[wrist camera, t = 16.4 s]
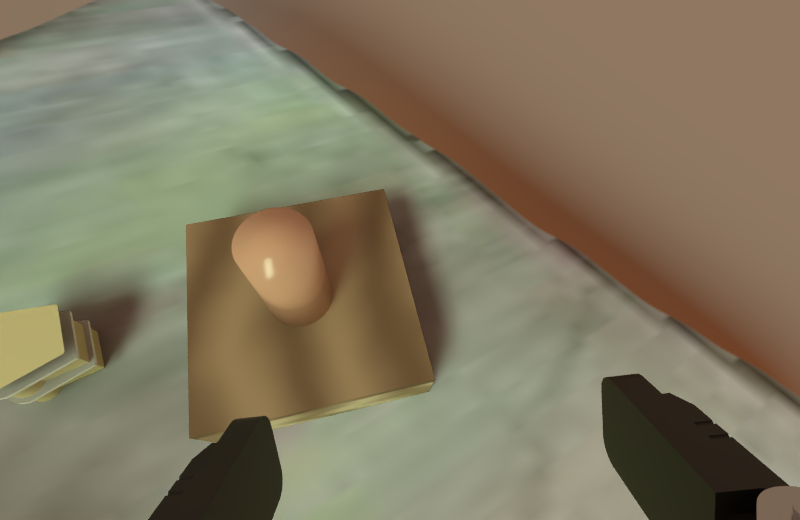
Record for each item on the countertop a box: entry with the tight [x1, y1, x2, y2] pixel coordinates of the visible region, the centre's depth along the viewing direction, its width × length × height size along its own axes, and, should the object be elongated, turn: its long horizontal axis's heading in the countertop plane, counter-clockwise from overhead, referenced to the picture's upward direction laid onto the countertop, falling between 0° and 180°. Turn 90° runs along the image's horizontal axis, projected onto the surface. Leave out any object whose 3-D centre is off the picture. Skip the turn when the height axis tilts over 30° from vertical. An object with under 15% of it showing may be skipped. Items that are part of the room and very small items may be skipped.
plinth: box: [186, 189, 435, 443], centre depth 33 cm, size 16×16×5 cm
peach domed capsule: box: [232, 208, 332, 327], centre depth 27 cm, size 5×5×8 cm
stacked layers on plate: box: [0, 305, 105, 404], centre depth 31 cm, size 10×9×6 cm
